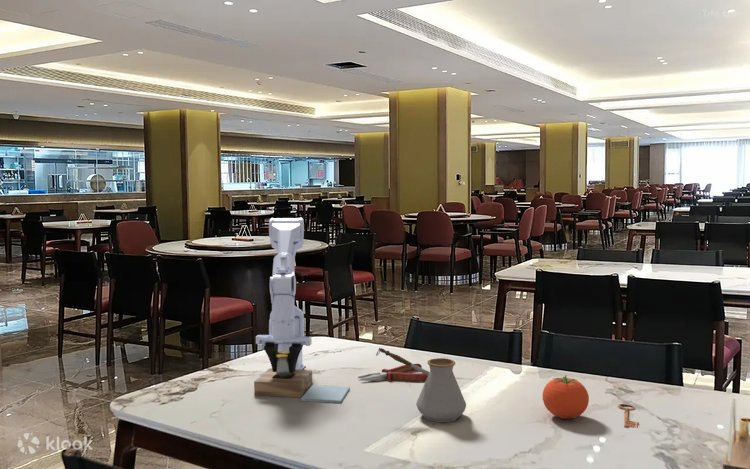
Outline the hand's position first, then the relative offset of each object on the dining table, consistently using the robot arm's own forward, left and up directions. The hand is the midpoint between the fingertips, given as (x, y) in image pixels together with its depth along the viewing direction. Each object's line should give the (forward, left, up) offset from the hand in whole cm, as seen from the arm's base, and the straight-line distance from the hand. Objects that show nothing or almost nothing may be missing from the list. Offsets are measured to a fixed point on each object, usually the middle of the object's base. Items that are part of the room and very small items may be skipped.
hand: (283, 371), depth 172 cm
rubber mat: (+3, +12, -5) cm, 13 cm away
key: (+7, +85, -5) cm, 85 cm away
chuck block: (0, 0, -5) cm, 5 cm away
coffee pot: (+13, +37, -5) cm, 40 cm away
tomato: (+10, +70, -5) cm, 71 cm away
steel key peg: (0, 0, -3) cm, 3 cm away
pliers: (-16, +27, -5) cm, 32 cm away
